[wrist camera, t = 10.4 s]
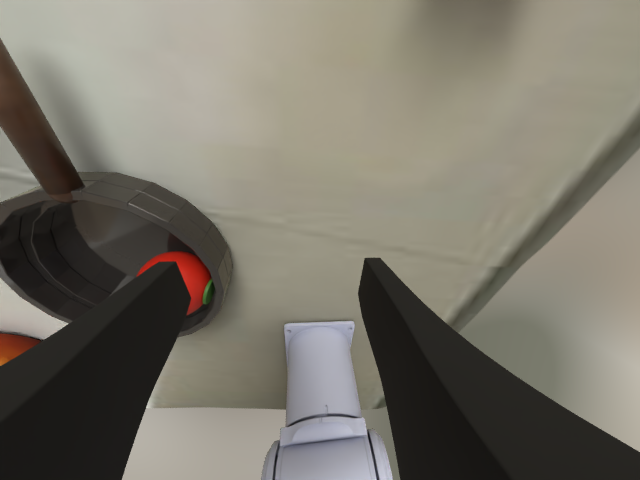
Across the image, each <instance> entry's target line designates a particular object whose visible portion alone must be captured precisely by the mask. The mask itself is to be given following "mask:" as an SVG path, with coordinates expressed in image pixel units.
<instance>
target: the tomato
mask: <svg viewBox="0 0 640 480" xmlns="http://www.w3.org/2000/svg"><path fill="white" fill-rule="evenodd" d="M167 261H176V262H177V265H178V267H179V270H180V272H181V274H182V277H183V279H184V282H185V284H186V286H187V289H188V291H189V293H190V296H191V302H190V305H189V308H188V312H187V315H189V314H191V313H193V312H194V311H196V310H197V309H198V308H200V307H201V306H202V305H203V304H206V305H207V304H208V303H209V302H210V301H211V299H212V297H213V294H214V291H215V287H214V284H213V281H212V278H211V274H210V271H209V270H208V268H207V267H206V266H205V265H204V263H203V262H202V261H201V260H200V258H199V257H197V256H196V255H193V254H191V253H188V252H183V251H171V252H166V253H163V254H160V255H157V256H155V257H154V258H152V259H151V260H149V261H148V262H147V263H146V264H145V265H144V266H143V267H142V268H141V269H140V271H139V272H138V274H137V276H139V275H140V274H141V273H143V272H144V271H146V270H147V269H148V268H150V267H151V266H153V265H155V264H156V263H158V262H167ZM137 276H136V277H137Z"/></svg>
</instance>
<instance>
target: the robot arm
mask: <svg viewBox="0 0 640 480" xmlns="http://www.w3.org/2000/svg"><path fill="white" fill-rule="evenodd" d="M358 296H359V302H360V307H361V313H362V318H363V321H364V324H365V328H366V331H367V334H368V338H369V341H370V344H371V348H372V351H373V354H374V357H375V361H376V364H377V367H378V371H379V374H380V378H381V382H382V386H383V391H384V395H385V400H386V405H387V410H388V415H389V420H390V425H391V430H392V435H393V440H394V445H395V451H396V456H397V462H398V468H399V474H400V479H401V480H640V452H638V451H637V450H635V449H633V448H632V447H630V446H628V445H627V444H625V443H623V442H621V441H620V440H618V439H616V438H615V437H613V436H611V435H610V434H608V433H606V432H604V431H602V430H601V429H599V428H598V427H596V426H594V425H593V424H591V423H589V422H587V421H586V420H584V419H582V418H581V417H579V416H577V415H575V414H574V413H572V412H571V411H569V410H567V409H566V408H564V407H562V406H561V405H559V404H558V403H556V402H555V401H553V400H552V399H550V398H548V397H547V396H545V395H544V394H542V393H541V392H539V391H537V390H536V389H534V388H533V387H531V386H530V385H528V384H527V383H525V382H524V381H522V380H521V379H519V378H518V377H516V376H515V375H513V374H512V373H511V372H509V371H508V370H506V369H505V368H503V367H502V366H501V365H499V364H498V363H497V362H495V361H494V360H492V359H491V358H489V357H488V356H487V355H485V354H484V353H483V352H481V351H480V350H479V349H477V348H476V347H474V346H473V345H472V344H471V343H469V342H468V341H467V340H466V339H465V338H463V337H462V336H461V335H460V334H458V333H457V332H456V331H455V330H453V329H452V328H451V327H450V326H449V325H447V324H446V323H445V322H444V321H443V320H442V319H441V318H439V317H438V316H437V315H436V314H435V313H434V312H433V311H432V310H431V309H429V308H428V307H427V306H426V305H425V304H424V303H423V302H422V301H421V300H420V299H419V298H418V297H417V296H416V295H415V294H414V293H413V292H412V291H411V290H410V289H409V288H408V287H407V286H406V285H405V284H404V283H403V282H402V281H401V280H400V279H399V278H398V277H397V276H396V274H395V273H394V272H393V271H392V270H391V269H390V268H389V267H388V266H387V265H386V264H385V263H384V262H383V261H382V260H381V258H365V260H364V265H363V270H362V276H361V281H360V286H359V291H358ZM190 302H191V296H190V293H189V291H188V289H187V286H186V284H185V282H184V279H183V277H182V274H181V272H180V270H179V267H178V265H177V262H176V261H167V262H158V263H156V264H155V265H153V266H151V267H150V268H148V269H147V270H146V271H144V272H143V273H141V274H140V275H139V276H137V277H136V278H134V279H133V280H132V281H130V282H129V283H127V284H126V285H125V286H123V287H122V288H120V289H119V290H118V291H116V292H115V293H113V294H112V295H111V296H109V297H108V298H106V299H105V300H103V301H102V302H101V303H99V304H98V305H96V306H95V307H93V308H92V309H90V310H89V311H87V312H86V313H84V314H83V315H81V316H80V317H78V318H77V319H75V320H74V321H72V322H71V323H69V324H68V325H66V326H65V327H63V328H62V329H61V330H59V331H58V332H56V333H54V334H53V335H51V336H50V337H48V338H46V339H45V340H43V341H42V342H40V343H38V344H37V345H35V346H34V347H32V348H30V349H29V350H27V351H25V352H23V353H22V354H20V355H18V356H17V357H15V358H13V359H12V360H10V361H8V362H7V363H5V364H3V365H1V366H0V480H122V476H123V474H124V470H125V467H126V464H127V461H128V458H129V455H130V452H131V449H132V446H133V443H134V440H135V437H136V434H137V431H138V428H139V425H140V423H141V420H142V417H143V414H144V412H145V409H146V406H147V403H148V401H149V398H150V396H151V393H152V391H153V389H154V386H155V384H156V382H157V380H158V378H159V375H160V373H161V371H162V369H163V367H164V365H165V363H166V361H167V358H168V356H169V354H170V352H171V350H172V348H173V346H174V343H175V341H176V339H177V337H178V335H179V333H180V330H181V328H182V326H183V324H184V321H185V318H186V315H187V312H188V308H189V305H190ZM354 327H355V324H354V322H353V321H334V322H308V323H287V324H285V325H284V335H285V347H286V358H287V367H288V378H287V403H286V427H285V428H281V429H280V430H281V431H280V440H278V441H275V442H274V443H273V444H272V446H271V448H270V450H269V451H268V453H267V455H266V458H265V461H264V465H263V470H262V476H261V480H393V477H392V473H391V468H390V464H389V460H388V456H387V453H386V449H385V446H384V443H383V440H382V438H381V436H379V434H377V433H376V431H375V430H374V429H373V428H372V429H366V425H365V419H364V418H362V414H361V408H360V403H359V397H358V392H357V386H356V381H355V375H354V370H353V364H352V359H351V353H350V347H351V342H352V337H353V332H354Z"/></svg>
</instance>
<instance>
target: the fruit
mask: <svg viewBox="0 0 640 480" xmlns="http://www.w3.org/2000/svg"><path fill="white" fill-rule="evenodd" d="M40 342H42V341H40V340H37V339H33V338H29V337H25V336H19V335H11V334H3V333H0V366H1V365H3V364H5V363H7V362H8V361H10V360H12V359H13V358H15V357H17V356H18V355H20V354H22V353H23V352H25V351H27V350H29V349H30V348H32V347H34V346H35V345H37V344H38V343H40Z"/></svg>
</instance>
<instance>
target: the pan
mask: <svg viewBox="0 0 640 480" xmlns="http://www.w3.org/2000/svg"><path fill="white" fill-rule="evenodd" d="M77 173H78V174H79V176H80V178H81V180H82V181H83V183H84V185H83V186H82V187H80V188H78V189H75V190H72V191H71V194H72V196H73V199H72V201H78V202H76V203H61V202H58V201H55V200H54V199H52V198H51V197H49V196H48V195H47V193H46V192H45V191H44V189H43V188H42V186H41V185H40V186H38V187H35V188H33V189H31V190H28V191H26V192H24V193H21V194H19V195H17V196H14V197H12V198H10V199H8V200H5V201H3V202H1V203H0V278H1V279H2V280H3V281H4V282H5V283H6V284H7V285H8V286H9V287H10V288H12V289H13V290H14V291H15V292H16V293H17V294H18V295H19V296H20V297H22V298H23V299H24V300H26V301H28V302H29V303H31V304H32V305H34V306H36V307H37V308H39V309H40V310H42V311H44V312H45V313H47V314H48V315H51V316H52V317H55V318H57V319H59V320H62V321H64V322H66V323H71V322H72V321H74V320H75V319H77V318H78V317H80V316H81V315H83V314H84V313H86V312H87V311H89V310H90V309H92V308H93V307H95V306H96V305H98V304H99V303H101V302H102V301H103V300H105V299H106V298H108V297H109V296H111V295H112V294H113V293H115V292H116V291H118V290H119V289H120V288H122V287H123V286H125V285H126V284H127V283H129V282H130V281H132V280H133V279H134V278H136V276H137V274H138V272H139V271H140V269H141V268H142V267H143V266H144V265H145V264H146V263H147V262H148V261H149V260H151V259H152V258H154V257H155V256H157V255H160V254H163V253H166V252H171V251H183V252H188V253H191V254H193V255H196V256H197V257H199V258H200V260H201V261H202V262H203V263H204V265H205V266H206V267H207V268H208V270H209V271H210V274H211V278H212V281H213V284H214V287H215V291H214V294H213V297H212V299H211V301H210V302H209V303H208V304H207V305H206V304H203V305H202V306H201V307H200V308H198V309H197V310H196V311H194V312H193V313H191V314H189V315H186V318H185V321H184V324H183V326H182V328H181V330H180V333H179V335H178V337H181V336H185V335H189V334H192V333H194V332H195V331H197V330H199V329H201V328H203V327H204V326H206V325H208V324H209V323H210V322H211V321H212V320H213V318H214V317H215V316H216V315H217V314H218V312H219V311H220V310H221V307H222V304H223V301H224V298H225V295H226V292H227V289H228V286H229V283H230V278H231V273H232V268H233V265H232V261H231V257H230V253H229V248H228V246H227V243H226V242H225V240H224V239H223V237H222V236H221V234H220V233H219V231H218V230H217V228H216V227H215V225H214V224H213V223H212V222H211V221H210V220H209V219H208V218H207V217H206V216H204V215H203V214H202V213H201V212H200V211H199V210H198V209H196V208H195V207H194V206H193V205H192V204H191V203H190V202H188V201H187V200H186V199H184V198H182V197H180V196H178V195H176V194H174V193H172V192H170V191H169V190H167V189H165V188H163V187H161V186H159V185H157V184H155V183H153V182H149V181H146V180H142V179H138V178H134V177H131V176H127V175H123V174H120V173H114V172H77Z"/></svg>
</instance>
